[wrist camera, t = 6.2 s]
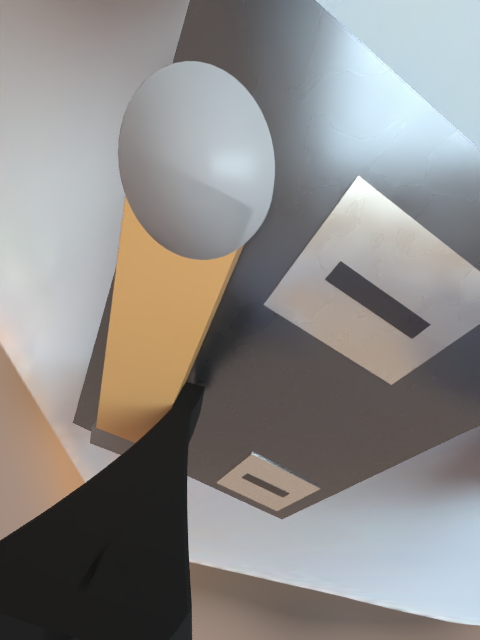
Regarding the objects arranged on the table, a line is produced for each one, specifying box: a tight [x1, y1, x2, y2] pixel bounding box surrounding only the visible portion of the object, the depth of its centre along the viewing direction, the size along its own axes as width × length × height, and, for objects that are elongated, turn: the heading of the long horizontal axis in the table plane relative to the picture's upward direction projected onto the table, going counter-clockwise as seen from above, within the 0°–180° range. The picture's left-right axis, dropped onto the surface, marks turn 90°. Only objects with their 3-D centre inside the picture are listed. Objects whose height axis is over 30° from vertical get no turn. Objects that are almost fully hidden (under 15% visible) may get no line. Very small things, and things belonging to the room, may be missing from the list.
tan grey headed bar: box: [90, 61, 275, 455], centre depth 8 cm, size 15×4×2 cm, turn 156°
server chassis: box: [73, 0, 480, 519], centre depth 11 cm, size 18×22×3 cm
